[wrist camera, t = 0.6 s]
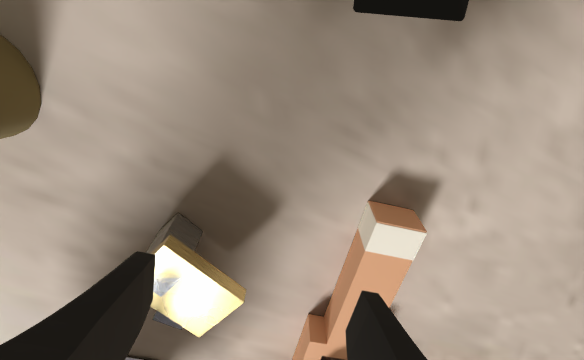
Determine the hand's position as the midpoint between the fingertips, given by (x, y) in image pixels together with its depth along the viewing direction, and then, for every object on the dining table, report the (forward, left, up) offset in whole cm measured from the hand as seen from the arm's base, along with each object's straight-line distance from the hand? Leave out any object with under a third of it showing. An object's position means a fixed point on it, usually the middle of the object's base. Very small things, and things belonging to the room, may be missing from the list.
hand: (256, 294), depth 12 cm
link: (-8, -8, -10) cm, 15 cm away
